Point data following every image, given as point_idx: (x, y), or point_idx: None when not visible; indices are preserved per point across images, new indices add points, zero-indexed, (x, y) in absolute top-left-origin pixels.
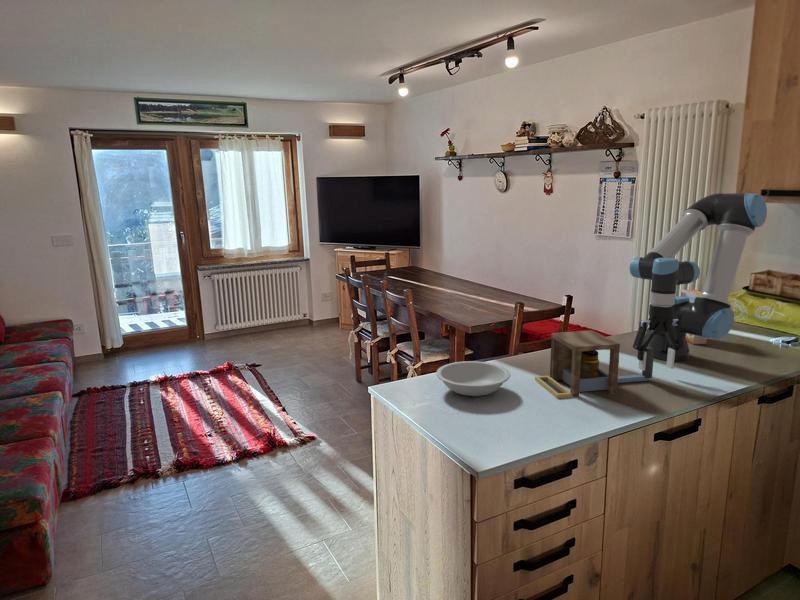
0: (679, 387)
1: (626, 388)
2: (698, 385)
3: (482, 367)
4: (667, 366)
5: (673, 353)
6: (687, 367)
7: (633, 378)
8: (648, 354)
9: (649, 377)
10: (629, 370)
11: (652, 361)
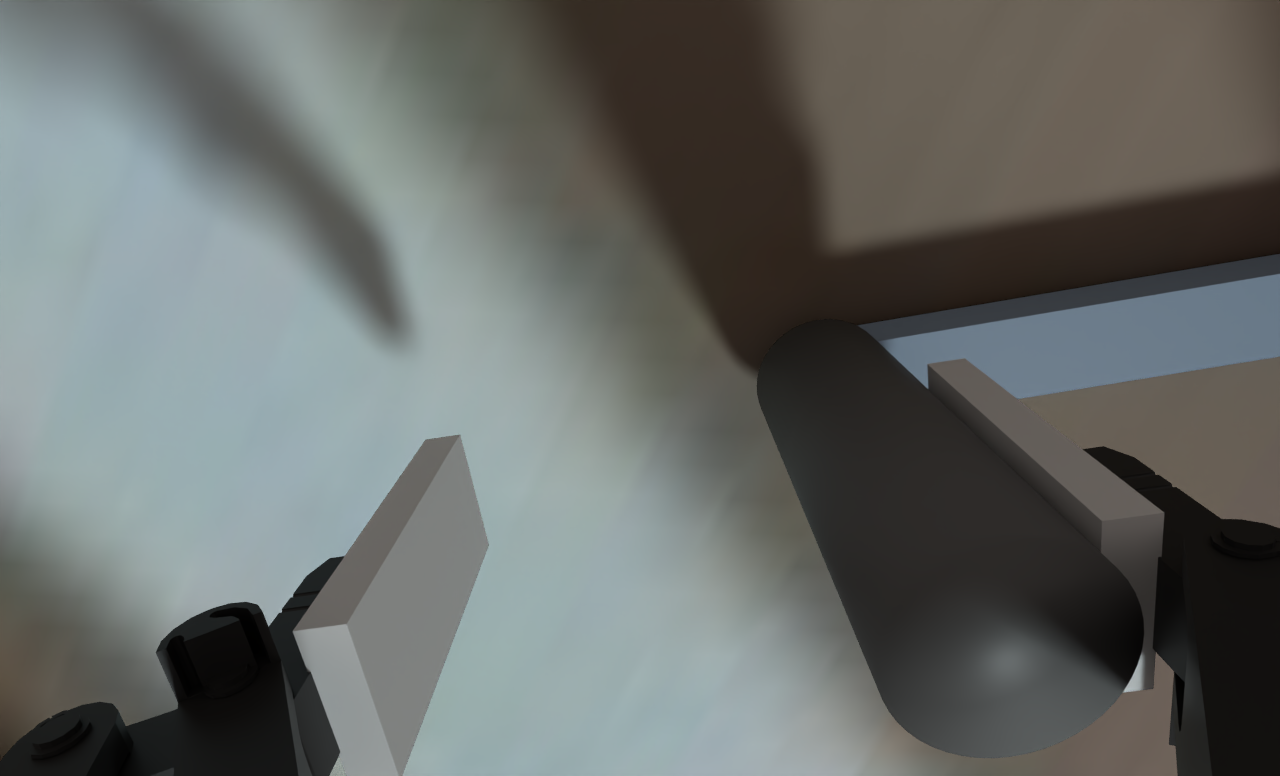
0: (499, 70)
1: (1262, 66)
2: (204, 139)
3: None
4: (482, 524)
5: (362, 577)
6: None
7: (1063, 304)
8: (1023, 484)
9: (824, 322)
10: (842, 687)
11: (856, 421)
